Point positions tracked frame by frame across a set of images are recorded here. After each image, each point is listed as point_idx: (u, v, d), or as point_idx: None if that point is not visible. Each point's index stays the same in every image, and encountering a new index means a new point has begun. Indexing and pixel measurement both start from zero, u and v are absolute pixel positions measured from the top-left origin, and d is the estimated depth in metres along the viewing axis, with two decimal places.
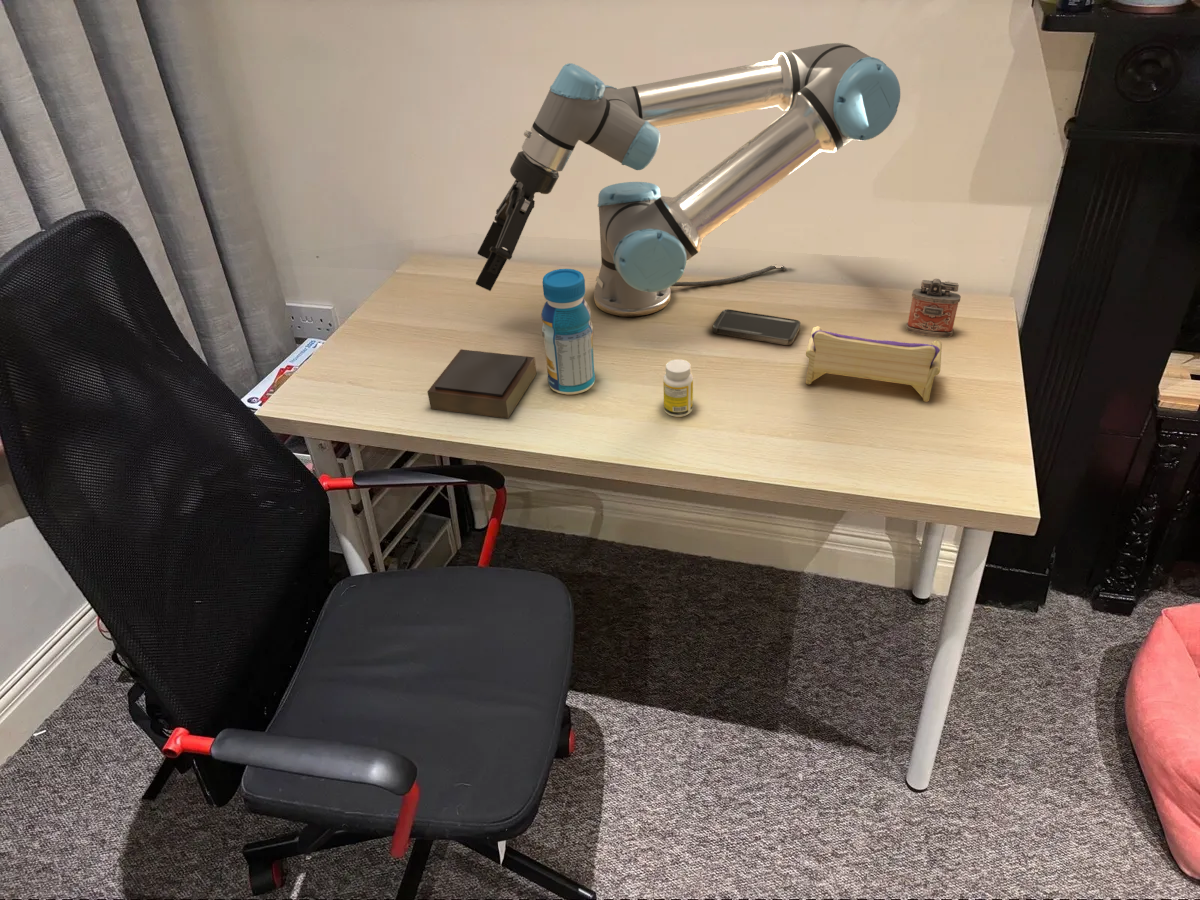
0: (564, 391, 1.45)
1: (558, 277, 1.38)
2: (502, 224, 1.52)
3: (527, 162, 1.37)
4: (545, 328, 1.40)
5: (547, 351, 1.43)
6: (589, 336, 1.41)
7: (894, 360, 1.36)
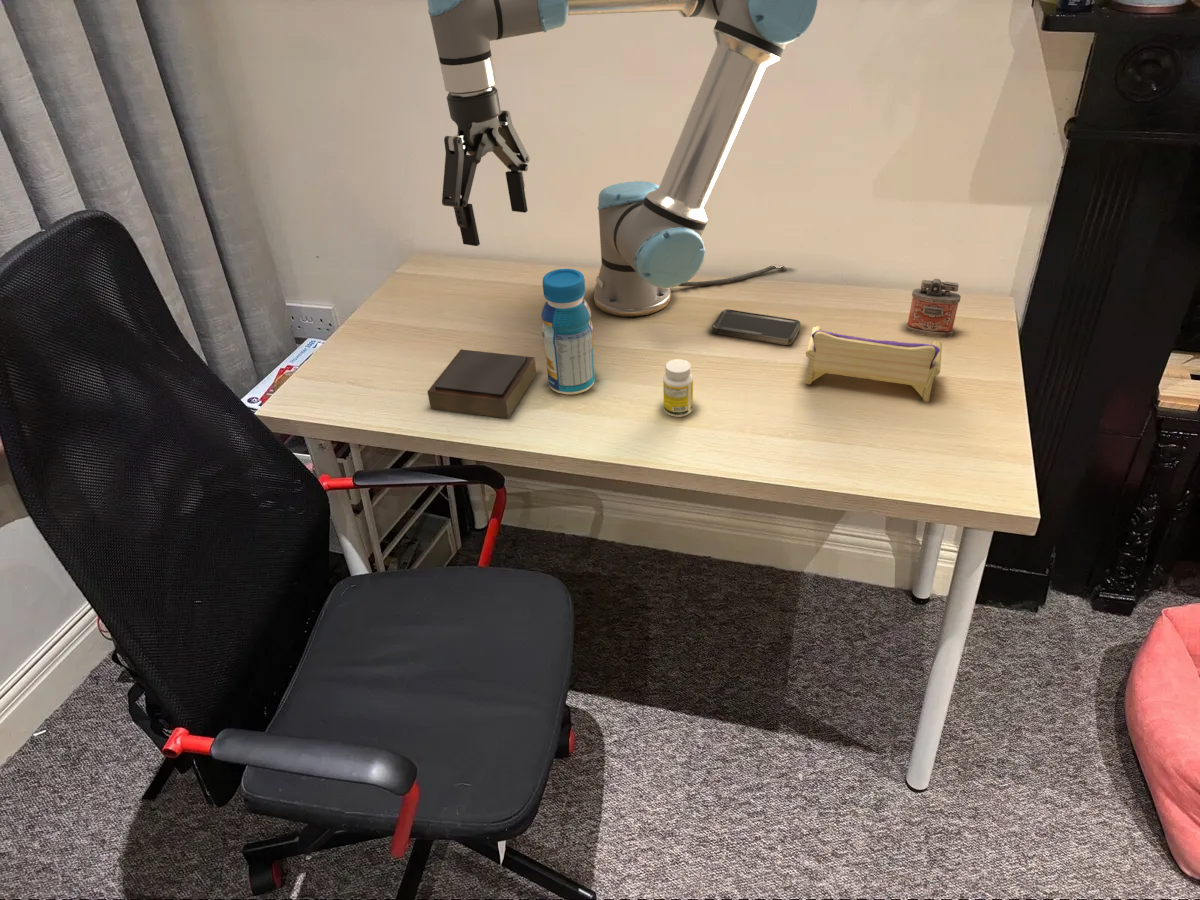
0: (564, 391, 1.45)
1: (558, 277, 1.38)
2: (516, 170, 1.39)
3: (448, 97, 1.25)
4: (545, 328, 1.40)
5: (547, 351, 1.43)
6: (589, 336, 1.41)
7: (894, 360, 1.36)
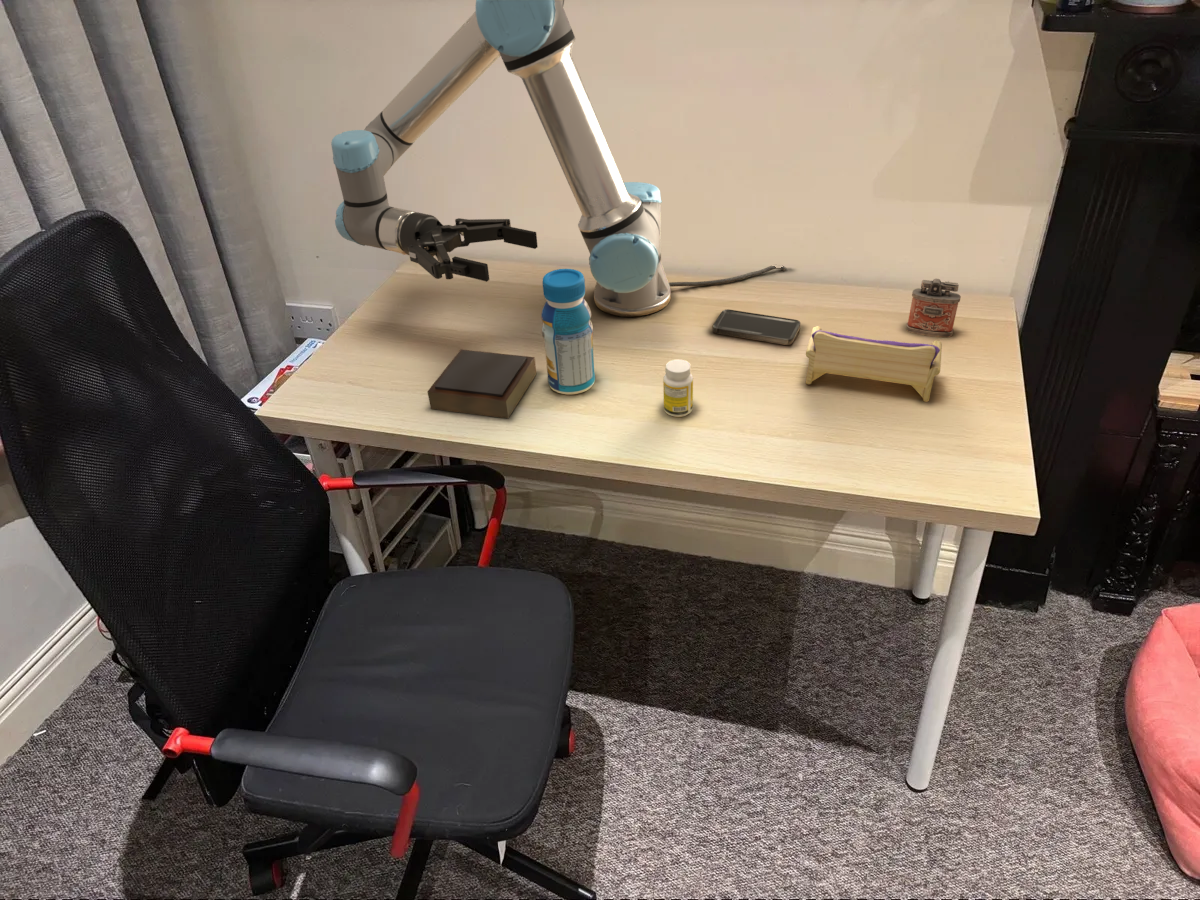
0: (564, 391, 1.45)
1: (558, 277, 1.38)
2: None
3: None
4: (545, 328, 1.40)
5: (547, 351, 1.43)
6: (589, 336, 1.41)
7: (894, 360, 1.36)
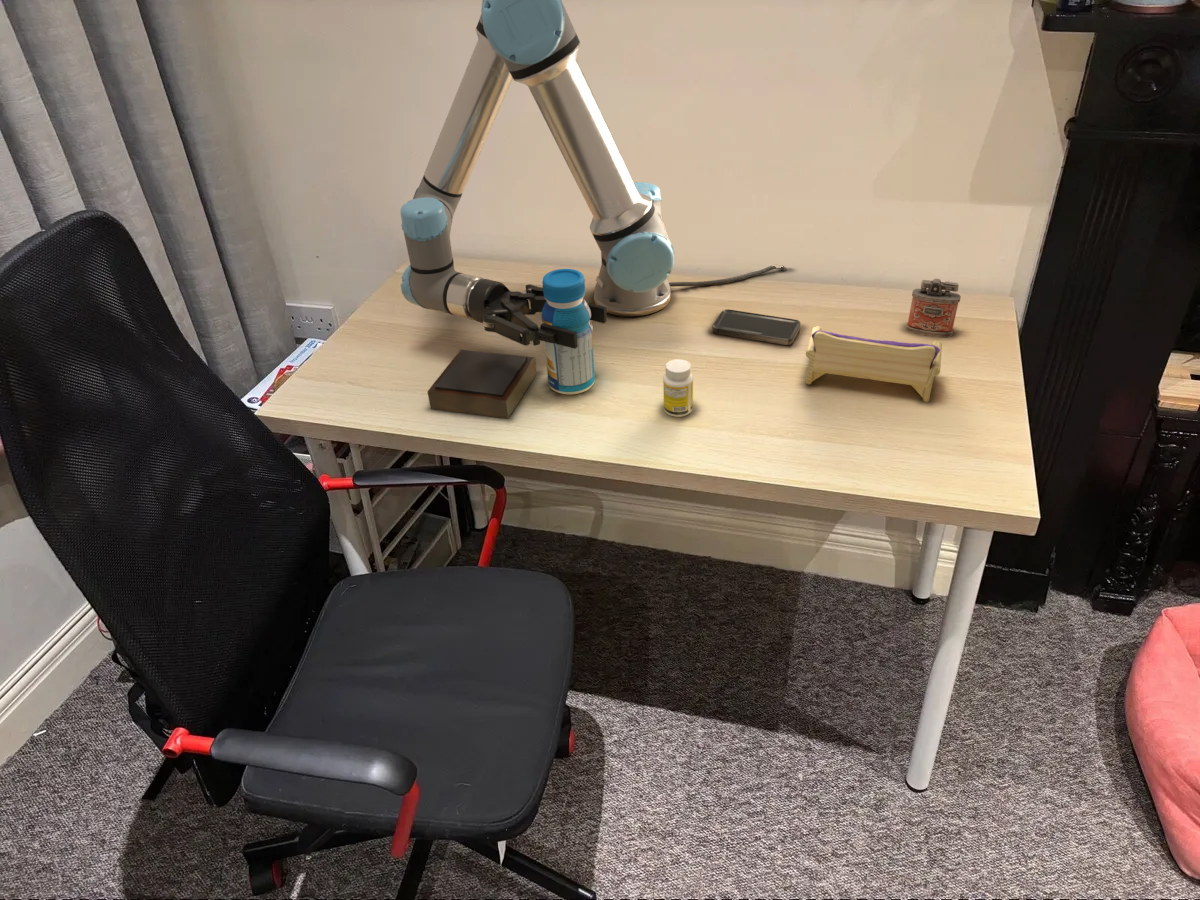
0: (564, 391, 1.45)
1: (558, 277, 1.38)
2: None
3: (473, 318, 1.48)
4: None
5: (547, 351, 1.43)
6: (589, 336, 1.41)
7: (894, 360, 1.36)
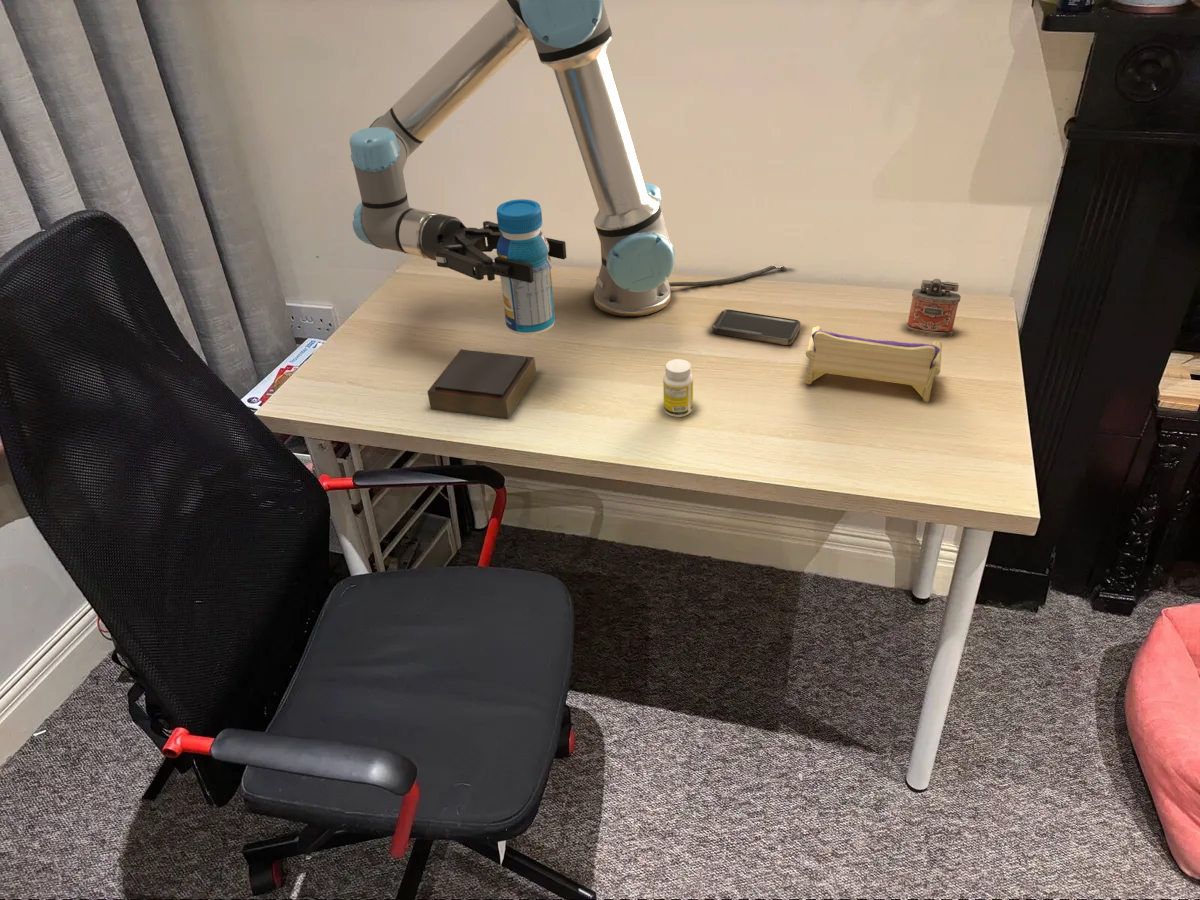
0: (522, 331, 1.37)
1: (513, 208, 1.30)
2: None
3: None
4: None
5: (503, 288, 1.35)
6: (547, 271, 1.33)
7: (894, 360, 1.36)
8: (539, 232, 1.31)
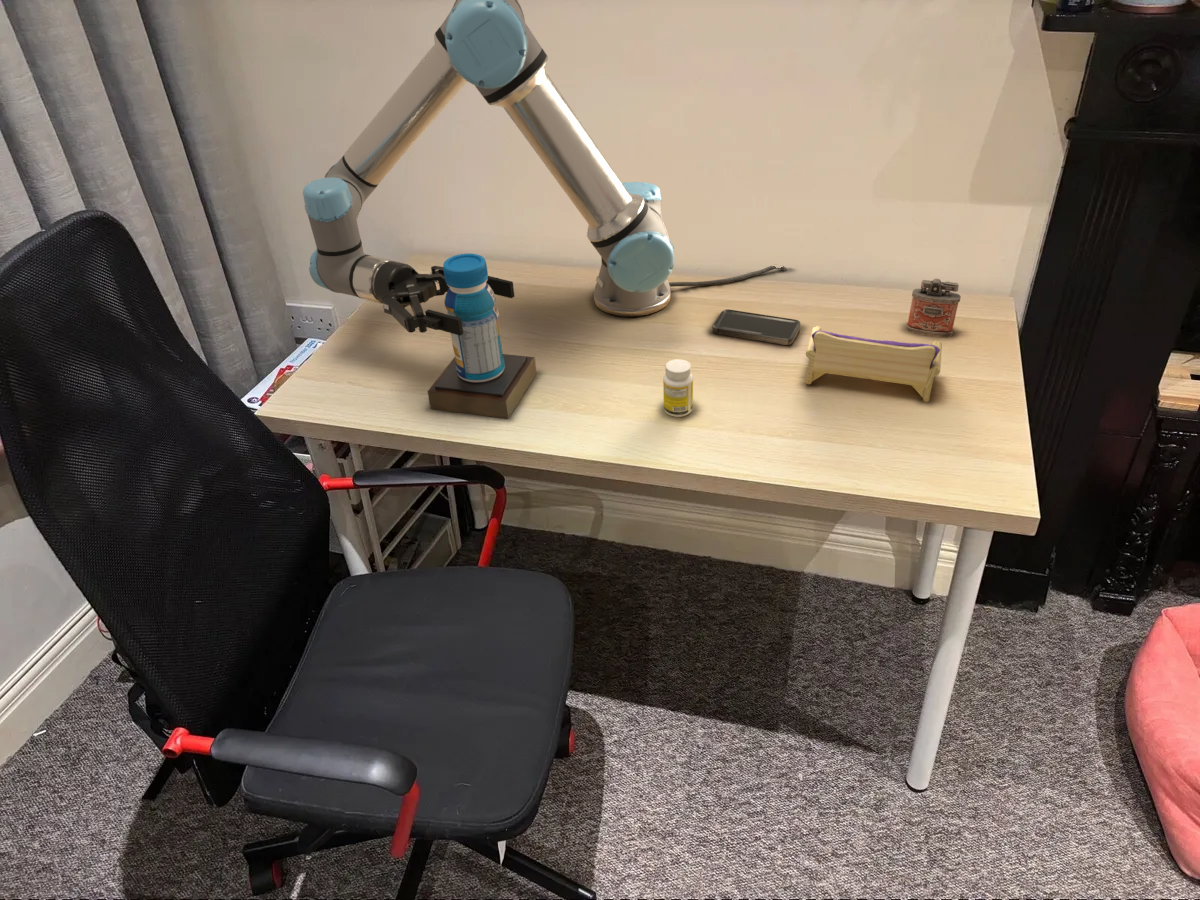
0: (471, 379, 1.42)
1: (459, 262, 1.34)
2: None
3: (380, 301, 1.45)
4: (448, 314, 1.37)
5: (452, 338, 1.40)
6: (494, 323, 1.38)
7: (894, 360, 1.36)
8: (485, 285, 1.36)
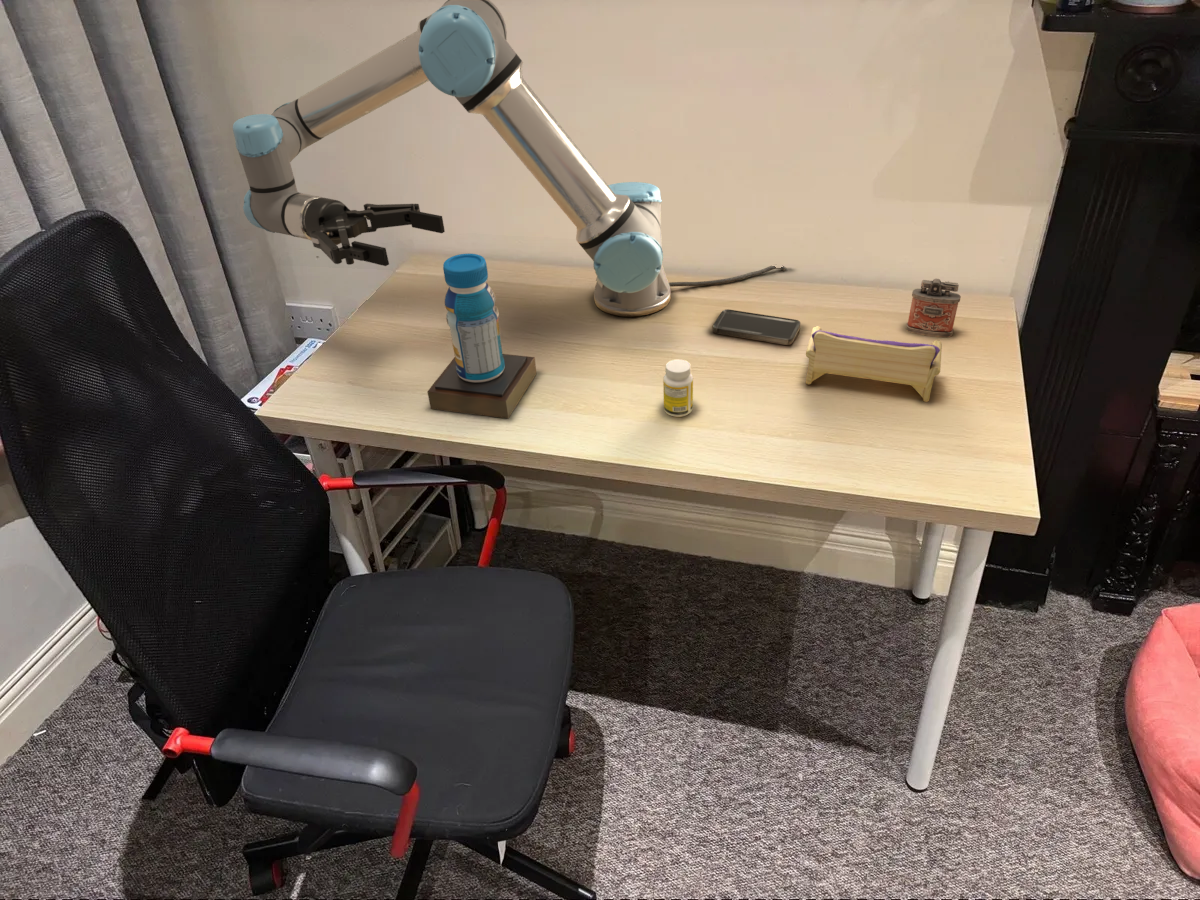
0: (471, 379, 1.42)
1: (459, 262, 1.34)
2: None
3: None
4: (448, 314, 1.37)
5: (452, 338, 1.40)
6: (494, 323, 1.38)
7: (894, 360, 1.36)
8: (485, 285, 1.36)
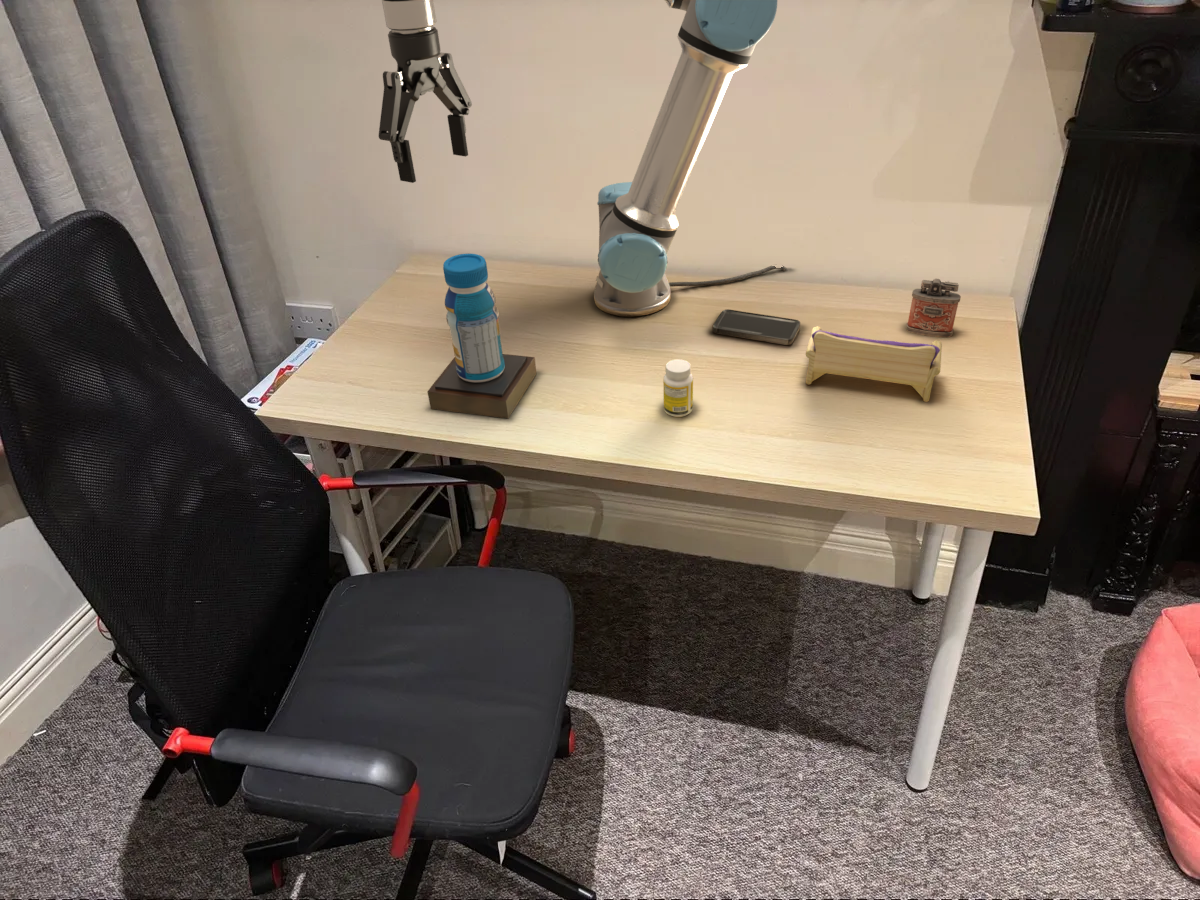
0: (471, 379, 1.42)
1: (460, 262, 1.34)
2: (457, 114, 1.44)
3: (389, 34, 1.30)
4: (448, 314, 1.37)
5: (452, 338, 1.40)
6: (494, 323, 1.38)
7: (894, 360, 1.36)
8: (485, 285, 1.36)
